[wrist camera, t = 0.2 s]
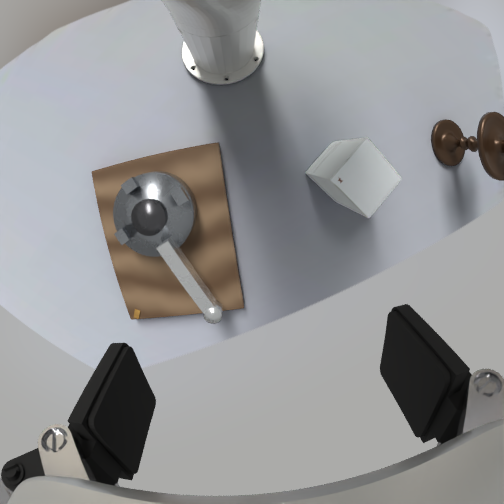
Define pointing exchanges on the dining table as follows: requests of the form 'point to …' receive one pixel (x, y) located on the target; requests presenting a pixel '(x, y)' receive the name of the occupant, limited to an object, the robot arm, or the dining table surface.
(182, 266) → the faucet lever handle
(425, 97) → the dining table surface
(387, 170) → the supplement box
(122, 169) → the wooden base
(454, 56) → the dining table surface
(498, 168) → the candlestick
